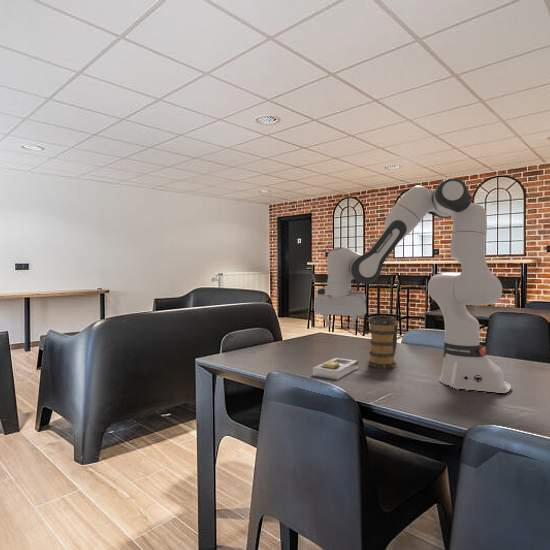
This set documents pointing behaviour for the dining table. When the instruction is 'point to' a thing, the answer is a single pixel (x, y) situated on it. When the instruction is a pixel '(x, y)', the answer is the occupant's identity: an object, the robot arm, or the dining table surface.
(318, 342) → the dining table surface
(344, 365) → the white flat tray
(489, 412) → the dining table surface
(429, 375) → the dining table surface
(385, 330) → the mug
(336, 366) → the yellow cube
